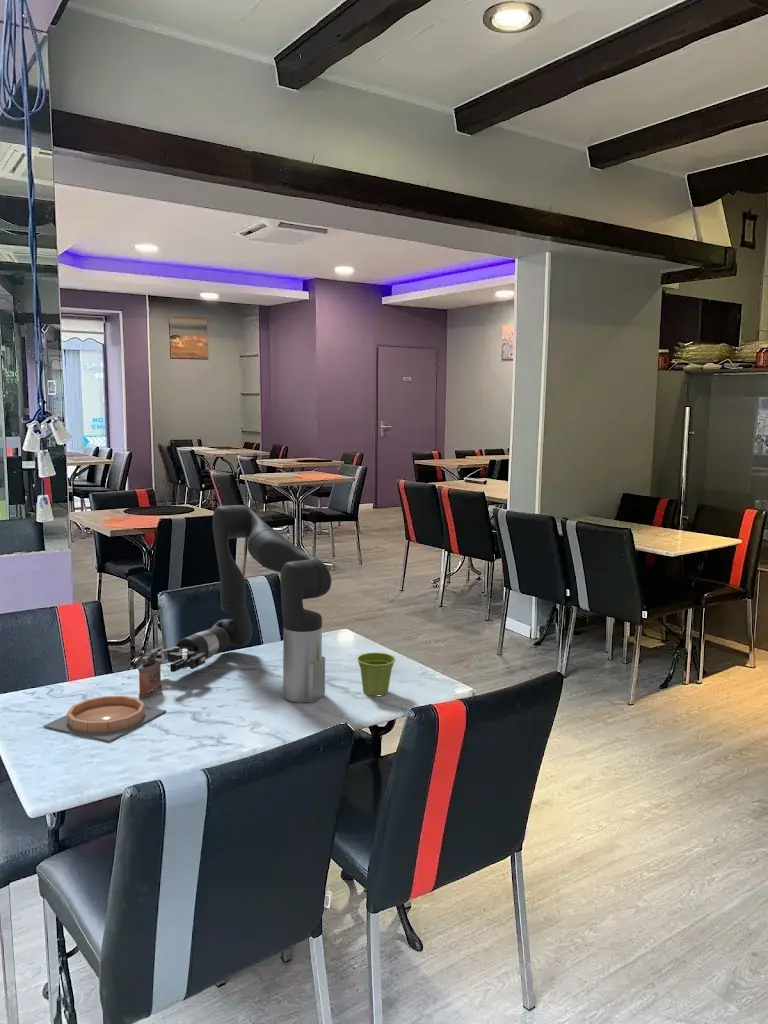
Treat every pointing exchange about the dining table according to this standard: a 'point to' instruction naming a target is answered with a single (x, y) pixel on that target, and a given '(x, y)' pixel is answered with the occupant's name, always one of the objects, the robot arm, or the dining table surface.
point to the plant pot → (375, 672)
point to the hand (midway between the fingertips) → (157, 665)
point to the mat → (105, 736)
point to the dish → (105, 714)
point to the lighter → (150, 675)
